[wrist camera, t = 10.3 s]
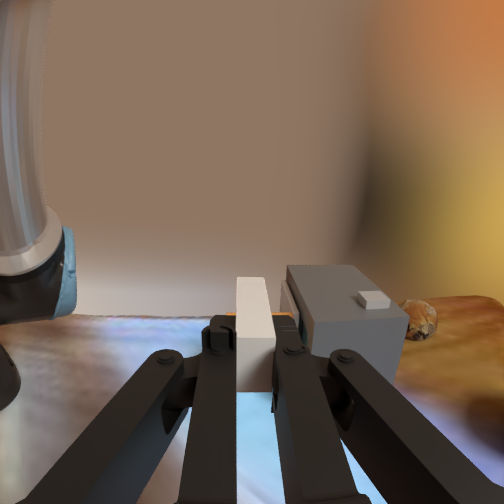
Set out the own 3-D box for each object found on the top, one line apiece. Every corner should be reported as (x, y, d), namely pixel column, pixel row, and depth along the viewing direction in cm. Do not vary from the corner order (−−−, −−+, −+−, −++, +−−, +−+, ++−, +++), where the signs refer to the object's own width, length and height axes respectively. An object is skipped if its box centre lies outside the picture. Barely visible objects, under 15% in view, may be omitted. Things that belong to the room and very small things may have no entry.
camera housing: (301, 422, 34) (315, 313, 30) (281, 338, 55) (285, 256, 51) (383, 411, 34) (411, 307, 30) (340, 335, 55) (350, 256, 51)
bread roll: (431, 342, 56) (439, 305, 58) (435, 344, 48) (444, 301, 49) (389, 334, 62) (397, 298, 63) (385, 335, 53) (394, 293, 54)
